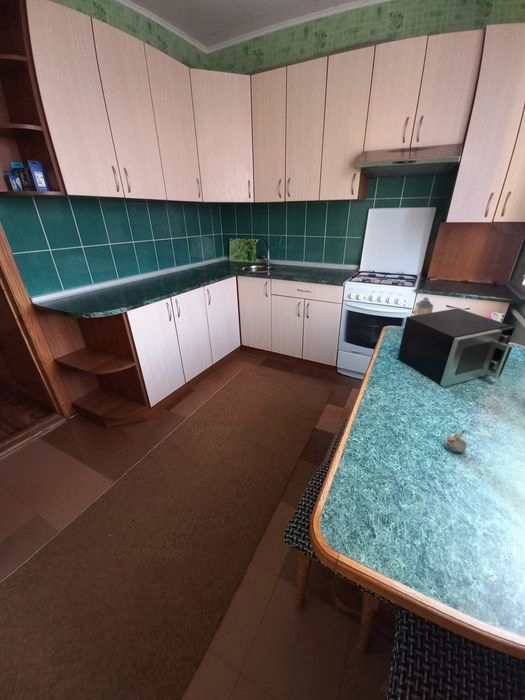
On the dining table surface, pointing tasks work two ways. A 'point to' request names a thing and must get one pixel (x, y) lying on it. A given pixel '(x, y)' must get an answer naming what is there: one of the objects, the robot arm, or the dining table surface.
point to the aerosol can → (423, 307)
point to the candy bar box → (496, 316)
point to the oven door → (474, 357)
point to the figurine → (456, 443)
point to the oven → (443, 339)
